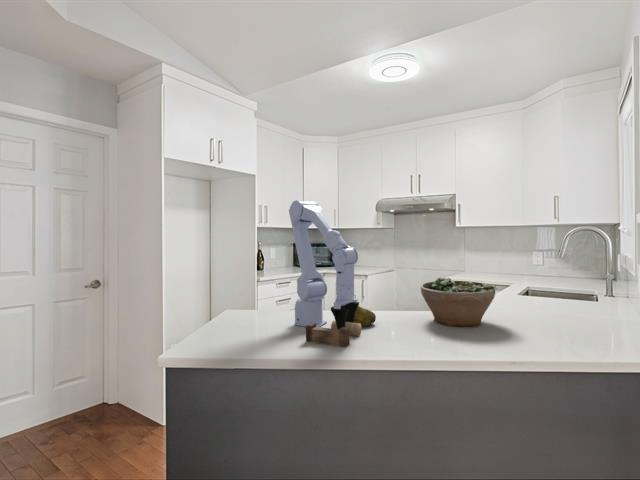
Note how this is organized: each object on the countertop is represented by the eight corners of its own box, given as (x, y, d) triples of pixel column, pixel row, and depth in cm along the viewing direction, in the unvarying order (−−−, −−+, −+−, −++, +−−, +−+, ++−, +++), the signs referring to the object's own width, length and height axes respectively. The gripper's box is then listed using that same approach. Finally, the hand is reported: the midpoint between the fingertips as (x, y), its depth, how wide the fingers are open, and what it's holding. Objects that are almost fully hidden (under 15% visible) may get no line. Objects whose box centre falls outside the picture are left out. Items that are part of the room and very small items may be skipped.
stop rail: (306, 341, 113) (305, 325, 113) (310, 338, 116) (310, 322, 115) (346, 347, 108) (345, 329, 107) (349, 344, 110) (349, 327, 110)
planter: (511, 328, 125) (512, 284, 125) (445, 334, 119) (445, 288, 119) (464, 311, 150) (464, 275, 150) (407, 316, 144) (407, 277, 143)
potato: (375, 329, 126) (375, 305, 126) (337, 328, 128) (337, 304, 127) (375, 322, 134) (375, 300, 134) (340, 321, 136) (339, 300, 136)
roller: (330, 334, 121) (330, 321, 121) (335, 331, 124) (335, 319, 124) (357, 337, 117) (357, 324, 117) (361, 334, 121) (361, 322, 121)
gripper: (348, 289, 112) (348, 334, 113) (364, 282, 125) (364, 322, 126) (327, 287, 115) (327, 331, 116) (344, 281, 128) (344, 320, 129)
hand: (345, 326), depth 121 cm, fingers open, 7 cm apart
